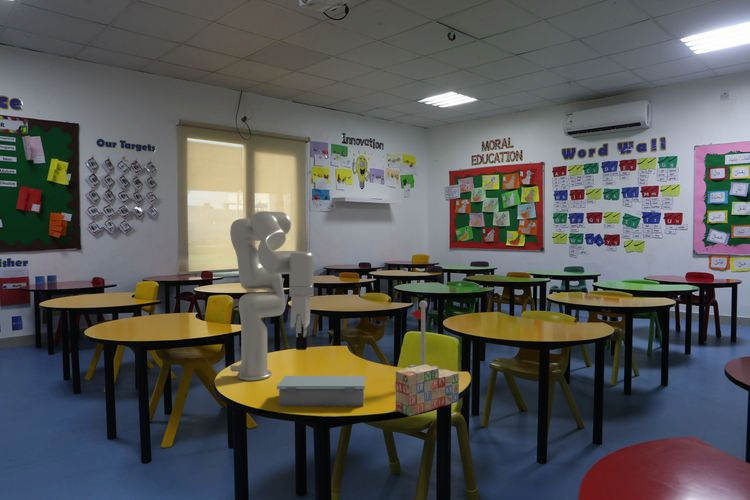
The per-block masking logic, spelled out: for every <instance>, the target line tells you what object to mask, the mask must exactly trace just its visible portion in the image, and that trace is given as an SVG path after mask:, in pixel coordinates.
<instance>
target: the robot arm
mask: <svg viewBox="0 0 750 500" xmlns="http://www.w3.org/2000/svg"><path fill="white" fill-rule="evenodd" d="M291 227H292V222H291V219H290V216H289V215H288V214H287V213H286V212H283V211H265V210H263V211H262V210H261V211H258V212H255V213H254V214H252V216H251V217H250V218H249V217H248V218H247V217H246V218H238V219H235V220H234V221H233V222H232V223H231V225H230V241H231V244H232V247H233V249H234V252H235V254H236V259H237V267H238V268H237V269H238V276H239V277H238V278H239V283H240V286H241V288H242V289H244V290H248V291H255V290H256V291H257V290H267V291H265V292H261V291H260V292H251V293H245V294H244V295H242V296H241V297H240V298H239V300H238V311H239V317H240V329H241V330H240V331H241V332H240V333H241V335H240V337H241V341H240V343H241V349H240V350H241V355H240V356H241V359H240V360H241V364H239V365H237V364H236V365H235V364H231V365H230V371H231V372H238V373H236V378H237V379H239V380H242V381H250V382H251V381H261V380H264V379H265V380H266V379H268V378H270V377H271V376H272V371H271V370H269V369H268V328H267V326H266V324H265V323H264V322H263V320H262V318H263V319H264V318H268V317H269V318H270V317H278V316H281V315H283V314H284V312H285V309H286V297H285V290H284V284H283V276H282V275H288V277H289V281H288V282H289V288H288V290H289V294H288V295H289V297H291V302H290V303H291V304H290V305H291V306H290V323H289V324H290V325H289V327H290V329H294V328H295V334H296V335H295V349H296V350H297V351H303V350H304V351H306V349H308V334H307V330H308V326H309V325H310V323H311V297H314V255H313V253H312V252H308V251H300V250H279V249H280V248H281V247H283V246H284V244H285V242H286V240H287V234H288V233H290V231H291ZM251 241H254V242H255V241H256V242H257V241H259V244H258V247H257V248H256V247H255V245H254V244H253V243H252V242H251Z"/></svg>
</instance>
